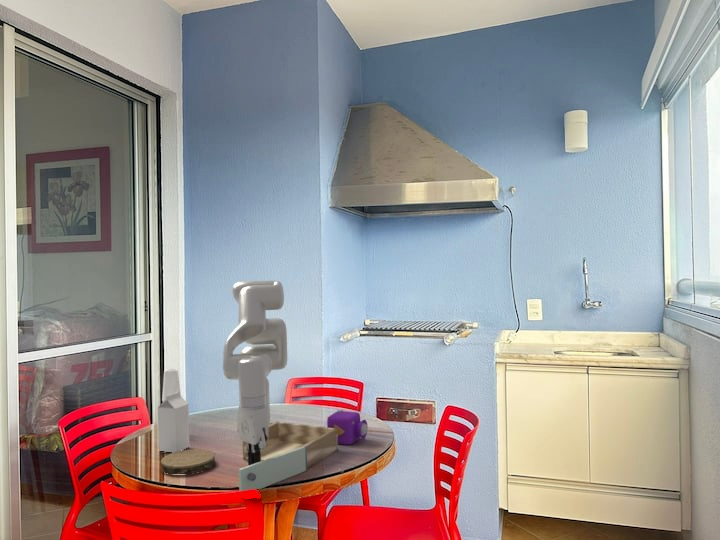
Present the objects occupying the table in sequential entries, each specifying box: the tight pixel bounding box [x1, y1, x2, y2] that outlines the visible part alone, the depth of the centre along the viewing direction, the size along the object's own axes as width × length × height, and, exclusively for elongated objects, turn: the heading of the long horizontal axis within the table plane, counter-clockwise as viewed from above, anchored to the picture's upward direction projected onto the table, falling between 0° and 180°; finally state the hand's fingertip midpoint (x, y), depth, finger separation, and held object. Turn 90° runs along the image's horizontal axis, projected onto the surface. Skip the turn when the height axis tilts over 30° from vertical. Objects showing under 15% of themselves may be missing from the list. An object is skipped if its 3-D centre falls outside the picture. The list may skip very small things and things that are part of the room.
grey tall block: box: [161, 368, 182, 403], centre depth 205 cm, size 7×7×24 cm
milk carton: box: [157, 391, 190, 453], centre depth 187 cm, size 7×7×19 cm
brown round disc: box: [160, 448, 216, 475], centre depth 171 cm, size 16×16×3 cm
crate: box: [242, 421, 339, 470], centre depth 179 cm, size 24×19×7 cm
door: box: [238, 446, 308, 491], centre depth 155 cm, size 24×2×7 cm, turn 138°
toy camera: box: [326, 409, 368, 446], centre depth 191 cm, size 11×14×10 cm
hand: (254, 464), depth 159 cm, fingers closed
